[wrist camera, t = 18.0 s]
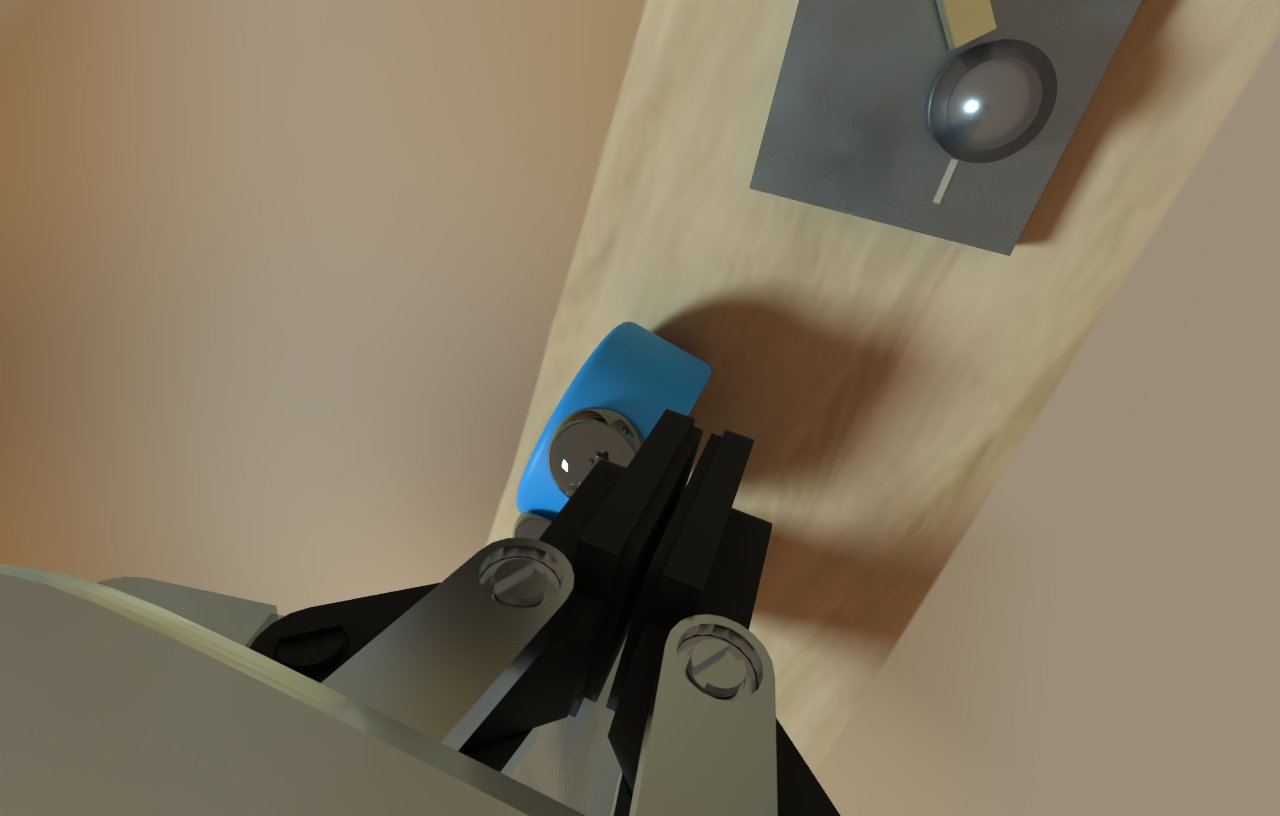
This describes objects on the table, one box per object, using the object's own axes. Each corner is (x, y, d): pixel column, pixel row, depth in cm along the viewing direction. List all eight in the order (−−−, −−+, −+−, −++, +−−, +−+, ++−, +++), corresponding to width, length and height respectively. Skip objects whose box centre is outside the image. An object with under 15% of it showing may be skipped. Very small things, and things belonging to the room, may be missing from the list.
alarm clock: (651, 289, 38) (540, 393, 26) (737, 337, 38) (666, 466, 26) (583, 436, 46) (472, 572, 33) (655, 477, 45) (568, 631, 33)
